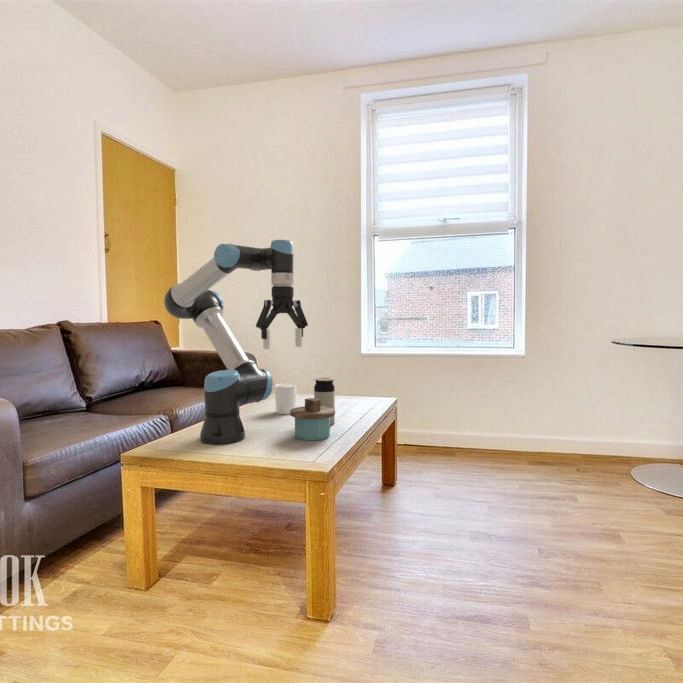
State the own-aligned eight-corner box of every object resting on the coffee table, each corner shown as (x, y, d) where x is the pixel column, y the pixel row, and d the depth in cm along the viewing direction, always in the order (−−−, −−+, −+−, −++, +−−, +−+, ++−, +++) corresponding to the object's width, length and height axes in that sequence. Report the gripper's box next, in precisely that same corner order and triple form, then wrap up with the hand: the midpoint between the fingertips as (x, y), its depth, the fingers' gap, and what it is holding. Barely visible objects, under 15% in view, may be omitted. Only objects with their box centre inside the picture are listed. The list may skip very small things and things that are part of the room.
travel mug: (334, 426, 182) (334, 379, 180) (313, 426, 182) (313, 379, 181) (334, 421, 190) (334, 376, 188) (315, 421, 190) (314, 376, 189)
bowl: (289, 435, 168) (288, 413, 167) (315, 429, 176) (314, 408, 175) (310, 442, 159) (310, 419, 158) (336, 436, 167) (336, 414, 167)
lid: (280, 413, 167) (280, 399, 167) (315, 407, 178) (315, 393, 178) (309, 421, 156) (309, 405, 155) (344, 413, 167) (344, 399, 166)
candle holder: (298, 409, 211) (298, 383, 210) (295, 414, 201) (295, 387, 200) (276, 409, 211) (276, 383, 210) (272, 414, 201) (272, 386, 201)
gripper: (257, 284, 150) (258, 350, 152) (317, 286, 167) (317, 346, 169) (245, 285, 156) (245, 349, 157) (304, 287, 173) (304, 345, 174)
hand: (283, 347), depth 163 cm, fingers open, 13 cm apart
